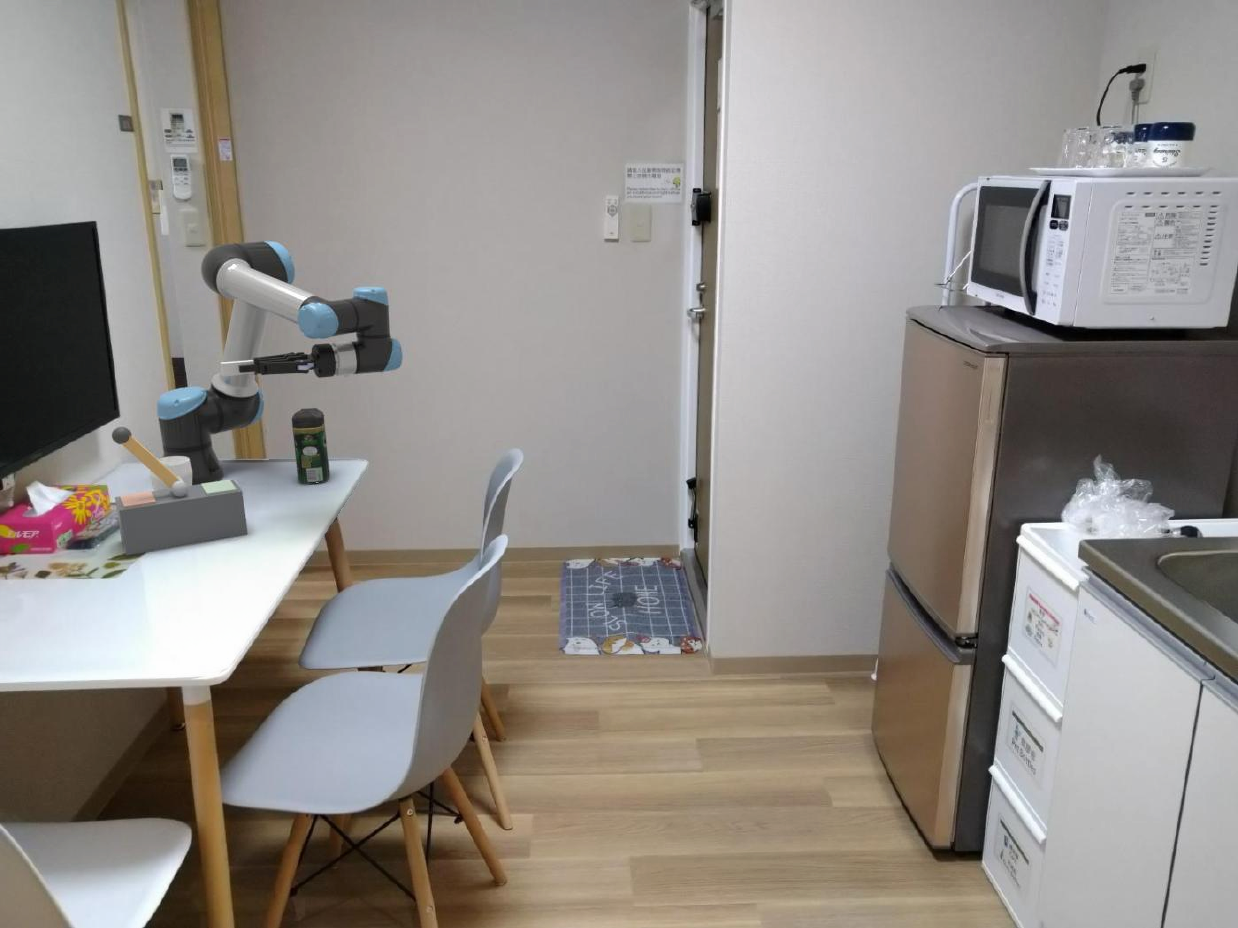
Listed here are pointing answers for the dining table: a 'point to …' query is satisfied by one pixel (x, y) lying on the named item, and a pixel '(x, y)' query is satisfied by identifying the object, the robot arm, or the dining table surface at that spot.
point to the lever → (149, 461)
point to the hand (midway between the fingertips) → (221, 369)
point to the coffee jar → (310, 445)
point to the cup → (173, 471)
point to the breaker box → (180, 517)
